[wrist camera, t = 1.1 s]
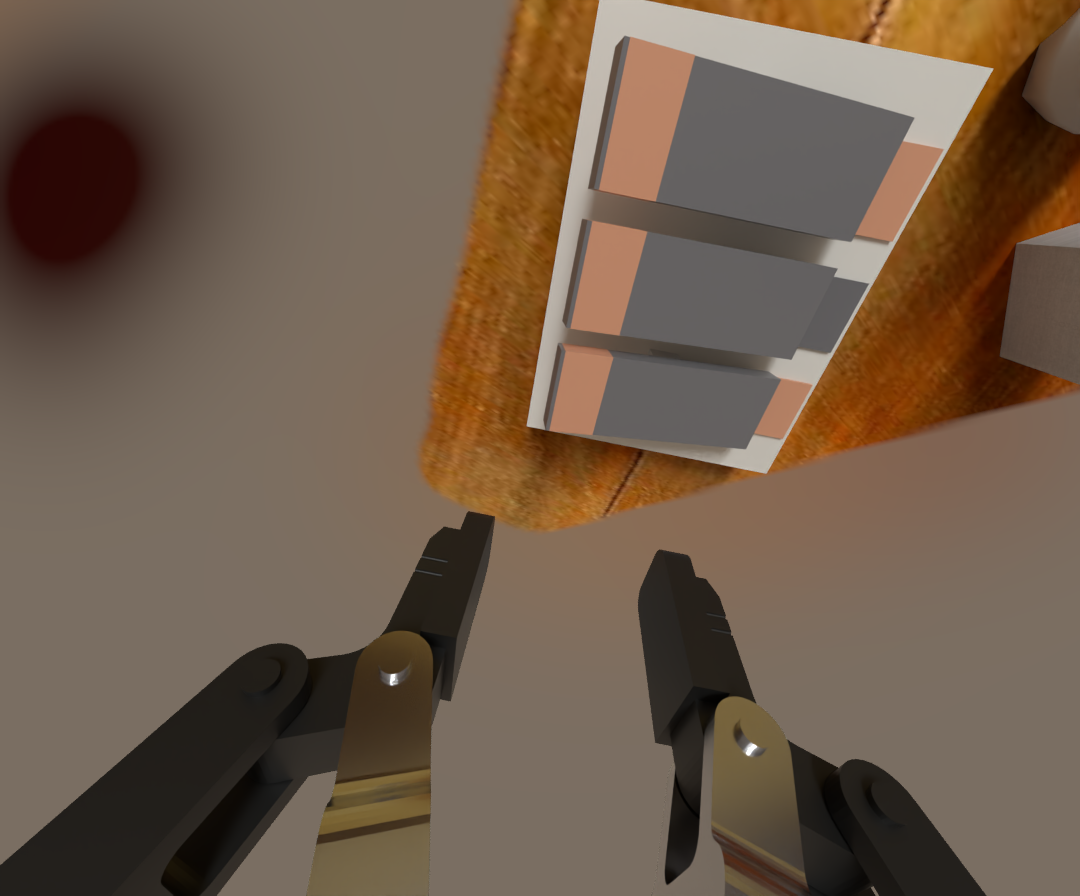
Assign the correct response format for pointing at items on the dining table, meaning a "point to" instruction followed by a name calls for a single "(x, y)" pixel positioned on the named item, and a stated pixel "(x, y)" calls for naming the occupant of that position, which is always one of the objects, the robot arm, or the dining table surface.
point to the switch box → (801, 58)
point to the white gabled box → (1045, 304)
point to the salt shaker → (1057, 77)
